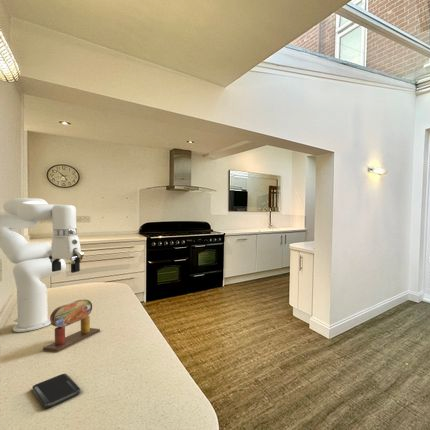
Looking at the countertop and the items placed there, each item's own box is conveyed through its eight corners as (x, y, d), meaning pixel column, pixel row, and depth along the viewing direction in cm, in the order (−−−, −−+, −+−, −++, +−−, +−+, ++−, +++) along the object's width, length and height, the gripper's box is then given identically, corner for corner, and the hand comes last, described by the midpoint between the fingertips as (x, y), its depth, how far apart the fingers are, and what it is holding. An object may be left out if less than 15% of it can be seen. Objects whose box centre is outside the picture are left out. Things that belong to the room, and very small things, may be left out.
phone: (45, 406, 74) (31, 385, 82) (45, 409, 74) (31, 389, 82) (81, 389, 81) (65, 372, 89) (81, 393, 81) (65, 375, 89)
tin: (55, 330, 104) (54, 310, 104) (48, 330, 105) (47, 309, 104) (93, 315, 119) (92, 296, 119) (87, 314, 120) (86, 296, 119)
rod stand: (42, 350, 104) (42, 331, 104) (86, 330, 121) (86, 313, 121) (57, 351, 103) (57, 332, 103) (99, 331, 120) (99, 314, 120)
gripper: (90, 232, 118) (91, 270, 119) (57, 231, 120) (58, 268, 121) (72, 234, 111) (73, 274, 111) (38, 233, 113) (39, 272, 114)
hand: (66, 271), depth 116 cm, fingers open, 9 cm apart
